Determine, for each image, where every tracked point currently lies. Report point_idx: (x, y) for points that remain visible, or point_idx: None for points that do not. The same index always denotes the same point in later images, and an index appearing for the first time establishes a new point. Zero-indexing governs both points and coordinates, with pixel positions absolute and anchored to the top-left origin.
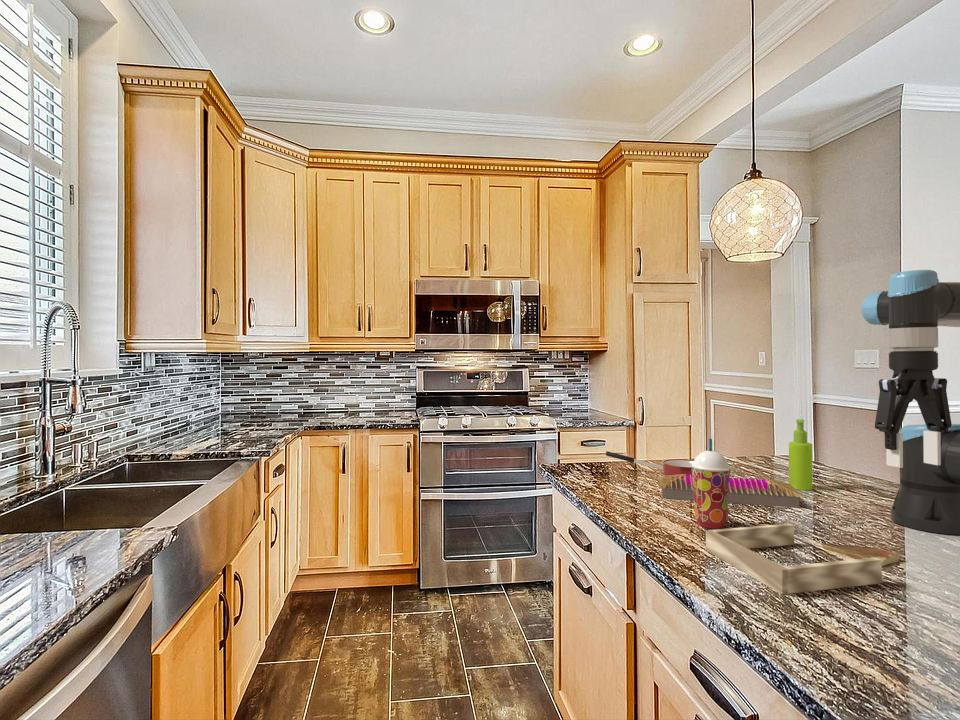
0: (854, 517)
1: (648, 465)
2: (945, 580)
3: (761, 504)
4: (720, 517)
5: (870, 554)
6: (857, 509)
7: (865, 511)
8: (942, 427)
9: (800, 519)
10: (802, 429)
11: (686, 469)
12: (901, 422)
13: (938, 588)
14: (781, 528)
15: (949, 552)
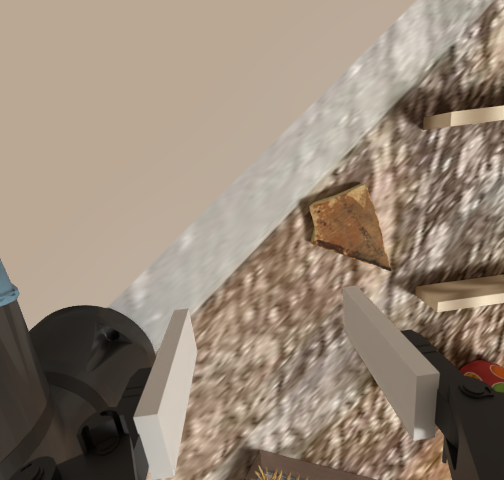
0: (203, 400)
1: None
2: (310, 116)
3: (314, 465)
4: (494, 370)
5: (359, 211)
6: None
7: None
8: (104, 448)
9: (306, 395)
10: None
11: None
12: (475, 445)
13: (353, 87)
14: (462, 296)
15: (187, 231)
